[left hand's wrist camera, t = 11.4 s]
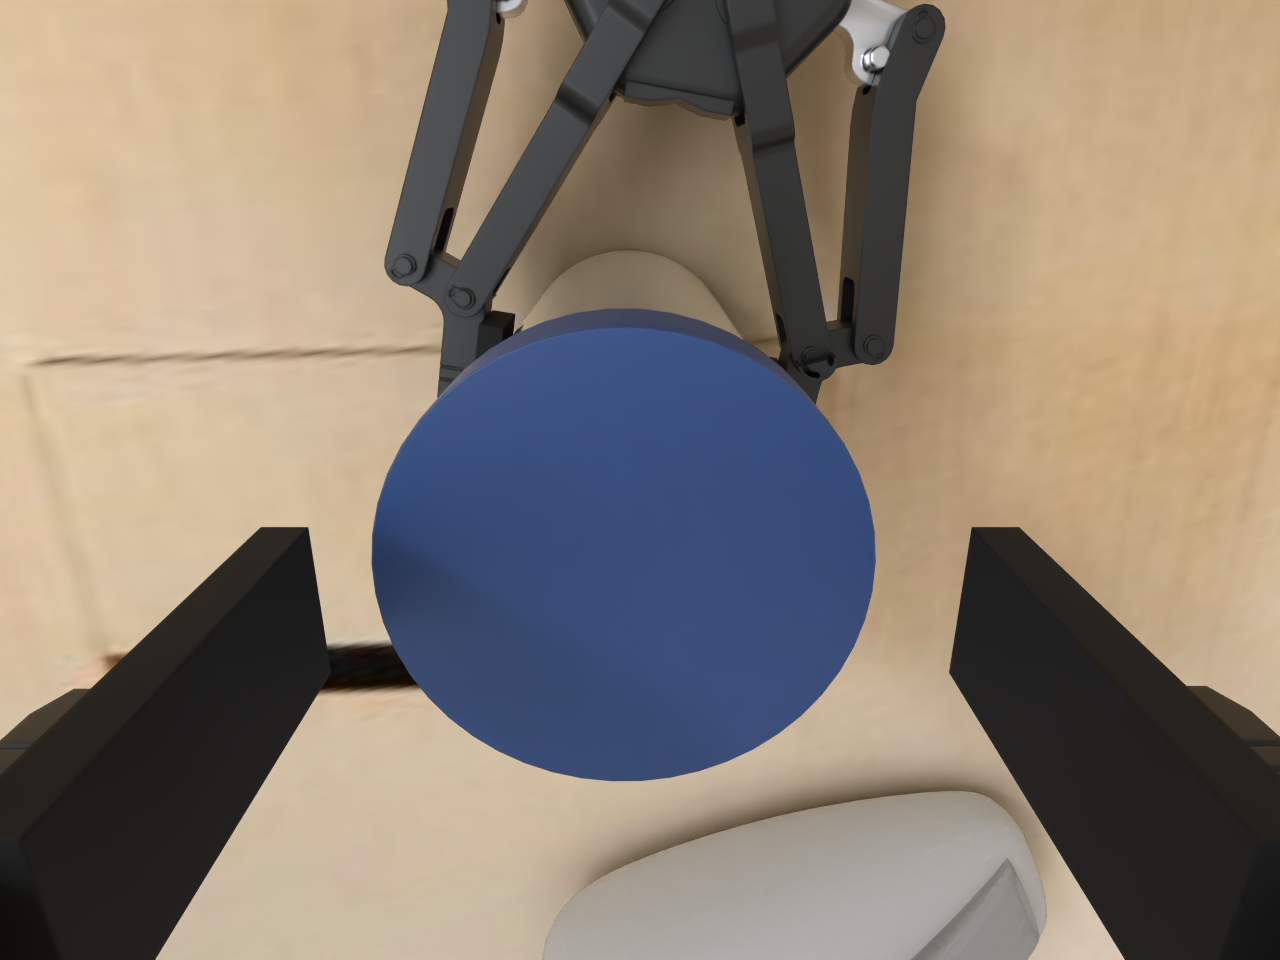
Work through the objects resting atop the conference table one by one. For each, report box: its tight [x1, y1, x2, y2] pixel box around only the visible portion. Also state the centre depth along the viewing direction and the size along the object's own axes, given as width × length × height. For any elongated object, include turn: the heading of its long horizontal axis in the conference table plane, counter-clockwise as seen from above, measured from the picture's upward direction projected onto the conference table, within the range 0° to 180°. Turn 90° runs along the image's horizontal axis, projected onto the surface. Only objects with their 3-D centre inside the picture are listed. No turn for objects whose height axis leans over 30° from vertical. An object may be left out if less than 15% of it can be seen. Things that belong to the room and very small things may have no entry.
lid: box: [372, 309, 876, 781], centre depth 16 cm, size 9×9×2 cm
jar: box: [513, 250, 743, 340], centre depth 24 cm, size 8×8×19 cm
